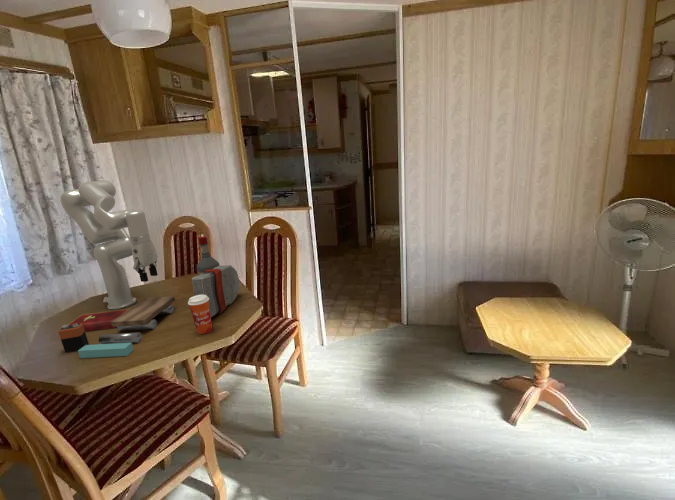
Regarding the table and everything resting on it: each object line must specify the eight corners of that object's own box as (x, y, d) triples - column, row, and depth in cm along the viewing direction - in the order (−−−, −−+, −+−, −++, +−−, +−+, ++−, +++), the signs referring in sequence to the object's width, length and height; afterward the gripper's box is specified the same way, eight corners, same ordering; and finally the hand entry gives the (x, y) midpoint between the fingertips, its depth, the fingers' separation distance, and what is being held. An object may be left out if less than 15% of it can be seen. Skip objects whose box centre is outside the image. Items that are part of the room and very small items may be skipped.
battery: (70, 347, 141) (62, 324, 138) (89, 343, 142) (82, 320, 139) (64, 353, 137) (56, 329, 134) (84, 349, 138) (77, 325, 135)
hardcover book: (119, 328, 154) (116, 319, 153) (67, 335, 153) (64, 326, 152) (131, 316, 166) (129, 308, 165) (83, 322, 164) (81, 313, 163)
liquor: (218, 291, 186) (206, 234, 178) (227, 295, 179) (215, 236, 171) (201, 297, 179) (188, 238, 171) (209, 301, 173) (197, 240, 165)
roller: (142, 339, 142) (140, 330, 141) (136, 344, 138) (134, 335, 137) (106, 341, 143) (104, 332, 143) (100, 346, 140) (97, 337, 139)
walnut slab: (112, 326, 146) (110, 322, 146) (146, 302, 169) (145, 298, 169) (145, 324, 145) (143, 320, 144) (175, 300, 168) (174, 296, 167)
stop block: (80, 358, 132) (77, 350, 131) (88, 352, 136) (85, 345, 135) (126, 355, 130) (124, 348, 129) (133, 349, 134) (131, 342, 133)
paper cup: (195, 337, 139) (188, 303, 135) (193, 329, 145) (186, 297, 142) (216, 331, 142) (210, 298, 138) (213, 324, 149) (207, 292, 145)
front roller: (118, 332, 150) (116, 324, 149) (124, 327, 154) (122, 319, 153) (153, 330, 149) (150, 322, 148) (158, 325, 153) (155, 317, 151)
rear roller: (138, 316, 164) (137, 308, 163) (143, 314, 167) (142, 305, 167) (170, 314, 162) (169, 306, 162) (174, 312, 166) (173, 304, 166)
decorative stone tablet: (203, 276, 145) (238, 260, 174) (188, 277, 146) (226, 260, 175) (209, 322, 148) (243, 299, 177) (195, 322, 150) (231, 299, 178)
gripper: (135, 244, 148) (145, 285, 153) (160, 234, 165) (168, 271, 170) (118, 245, 149) (129, 286, 154) (144, 234, 166) (153, 272, 171)
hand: (149, 278), depth 162 cm, fingers open, 6 cm apart
